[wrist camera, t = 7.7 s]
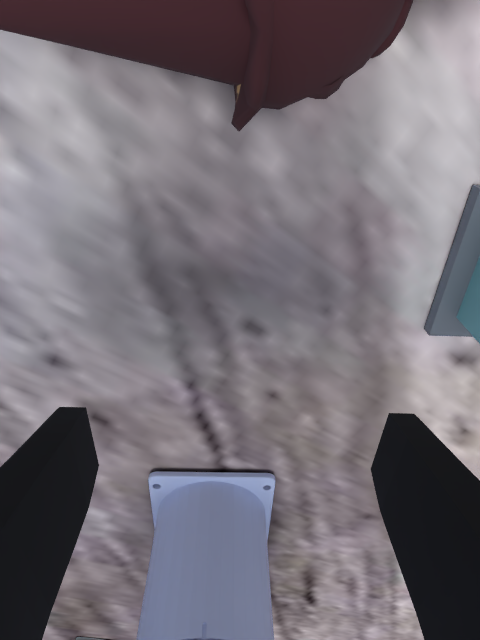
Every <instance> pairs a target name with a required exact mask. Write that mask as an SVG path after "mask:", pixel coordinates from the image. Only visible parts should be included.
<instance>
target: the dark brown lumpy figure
mask: <svg viewBox="0 0 480 640" xmlns="http://www.w3.org/2000/svg"><path fill="white" fill-rule="evenodd" d="M412 3H413V0H0V30H4V31H9V32H13V33H17V34H22V35H26V36H30V37H35V38H39V39H43V40H47V41H52V42H56V43H60V44H64V45H69V46H73V47H77V48H81V49H85V50H89V51H94V52H98V53H102V54H106V55H110V56H114V57H119V58H123V59H127V60H131V61H135V62H139V63H144V64H148V65H152V66H156V67H160V68H164V69H169V70H173V71H177V72H181V73H185V74H189V75H194V76H198V77H202V78H206V79H210V80H214V81H219V82H223V83H227V84H231V85H234V89H235V101H236V103H235V110H234V115H233V119H232V125H233V126H234V127H235V128H236V129H237V130H238V131H240V130H241V129H242V128H243V127H244V126H245V125H246V124H247V123H248V122H249V121H250V120H251V119H252V117H253V116H254V115H255V114H256V113H257V112H258V111H259V110H260V109H261V108H269V109H282V108H284V107H286V106H288V105H290V104H293V103H295V102H297V101H299V100H302V99H304V98H306V97H310V98H315V99H326V98H328V97H329V96H330V95H331V94H333V93H334V92H335V91H337V90H338V89H339V87H340V86H341V84H342V83H343V81H344V80H345V79H346V78H348V77H349V76H350V75H352V74H353V73H355V72H356V71H357V70H359V69H360V68H362V67H363V66H364V65H365V64H366V62H367V61H368V60H369V59H370V58H374V57H376V56H379V55H380V54H381V53H382V52H384V51H385V50H386V49H387V48H388V47H389V46H390V45H391V44H392V42H393V41H394V39H395V38H396V36H397V35H398V33H399V32H400V30H401V29H402V27H403V26H404V24H405V21H406V18H407V16H408V13H409V11H410V8H411V5H412Z"/></svg>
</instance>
